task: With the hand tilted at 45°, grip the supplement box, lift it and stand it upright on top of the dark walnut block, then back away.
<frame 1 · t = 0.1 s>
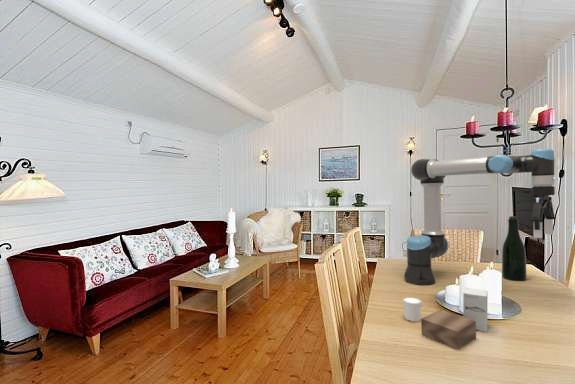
hand: (543, 236, 131), 28 cm above the table, tool pointing down, fingers open, 13 cm apart
supplement box: (475, 326, 111), on the table
dark green bottle: (514, 278, 164), on the table
white cylinder: (412, 318, 119), on the table
walnut block: (448, 337, 104), on the table
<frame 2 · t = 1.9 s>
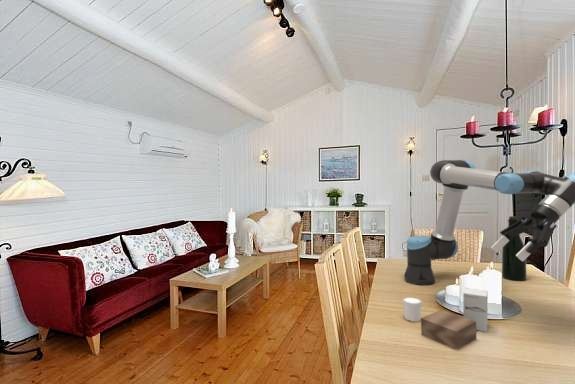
hand: (505, 254, 110), 26 cm above the table, tool tilted 45°, fingers open, 13 cm apart
nothing on the table moved.
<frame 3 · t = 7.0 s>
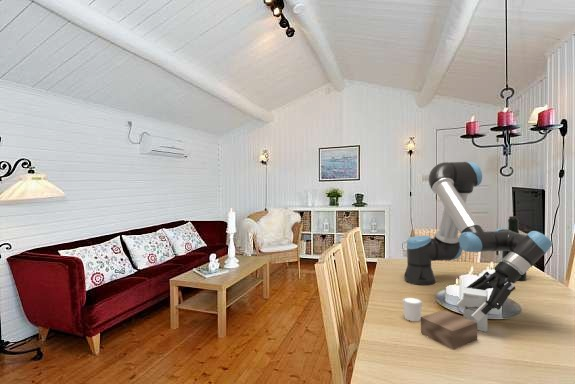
hand: (466, 312, 111), 5 cm above the table, tool tilted 45°, fingers closed on supplement box, 10 cm apart
supplement box: (475, 326, 111), on the table, touching gripper
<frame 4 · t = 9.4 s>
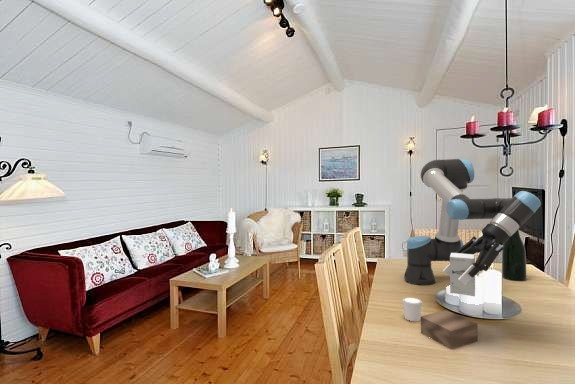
hand: (453, 277, 105), 19 cm above the table, tool tilted 45°, fingers closed on supplement box, 10 cm apart
supplement box: (463, 292, 105), point 14 cm above the table, touching gripper
everything else where it was.
when the fingers open (12 cm above the table, at t = 12.2 s): supplement box drops 2 cm, resting on walnut block.
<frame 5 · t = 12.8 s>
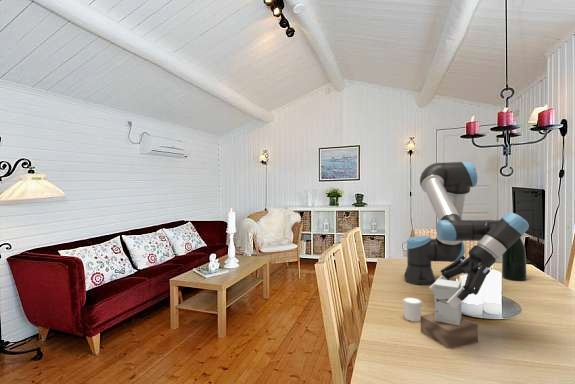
hand: (440, 297, 104), 13 cm above the table, tool tilted 45°, fingers open, 13 cm apart
supplement box: (448, 320, 103), point 5 cm above the table, touching walnut block
walnut block: (448, 337, 104), on the table, touching supplement box
everything else where it was.
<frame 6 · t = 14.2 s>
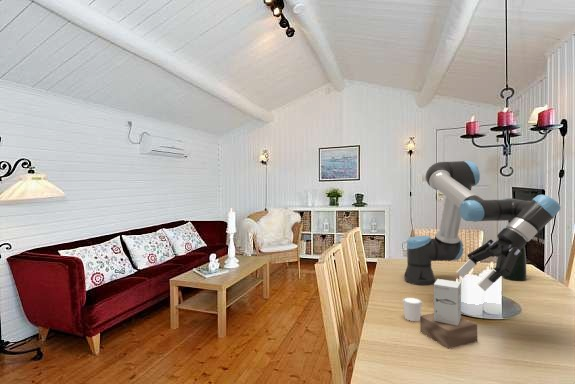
hand: (469, 280, 103), 19 cm above the table, tool tilted 45°, fingers open, 13 cm apart
nothing on the table moved.
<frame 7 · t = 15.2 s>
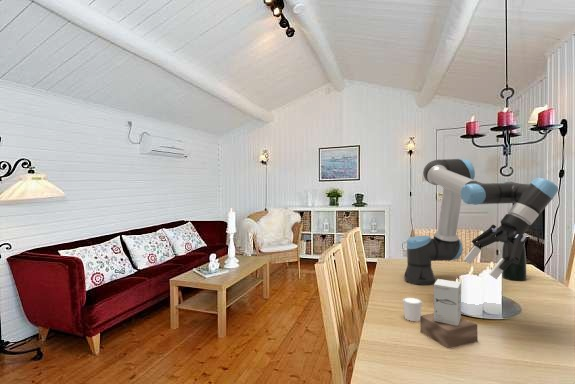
hand: (478, 268, 107), 22 cm above the table, tool tilted 40°, fingers open, 13 cm apart
supplement box: (447, 320, 103), point 5 cm above the table
walnut block: (448, 337, 104), on the table
everything else where it was.
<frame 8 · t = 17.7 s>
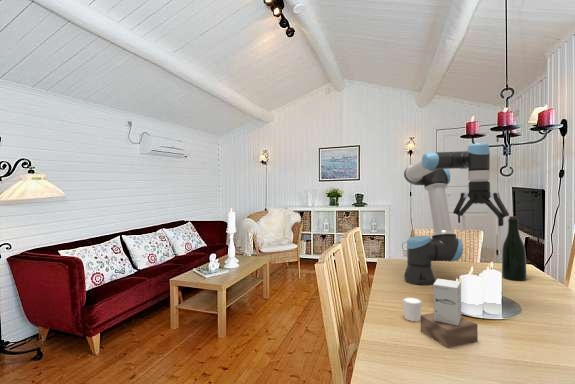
hand: (479, 232, 128), 31 cm above the table, tool pointing down, fingers open, 13 cm apart
supplement box: (448, 320, 103), point 6 cm above the table, touching walnut block
walnut block: (448, 337, 104), on the table, touching supplement box
everything else where it was.
at the end: supplement box inside the target area on the walnut block (0.4 cm from its centre), point 5.8 cm above the walnut block's base; supplement box tilted 1°; the gripper is holding nothing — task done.
